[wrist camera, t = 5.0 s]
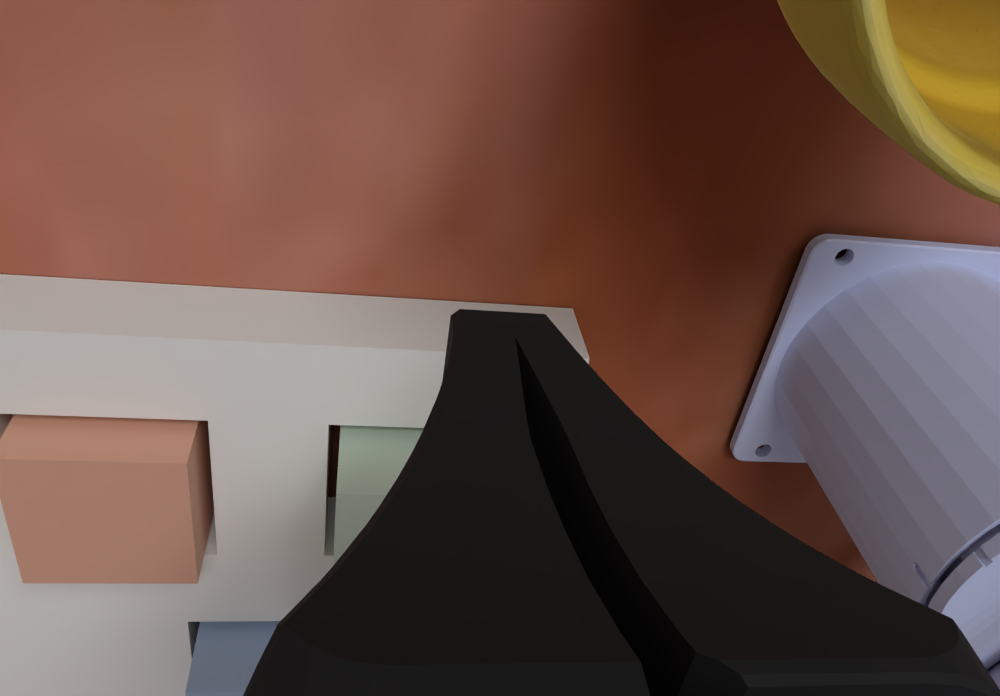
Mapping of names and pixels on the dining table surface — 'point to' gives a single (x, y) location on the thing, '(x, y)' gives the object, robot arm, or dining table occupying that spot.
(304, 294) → the white button panel
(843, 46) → the plant pot
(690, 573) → the robot arm
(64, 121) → the dining table surface
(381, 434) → the sage button
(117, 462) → the terracotta button
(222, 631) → the slate button
